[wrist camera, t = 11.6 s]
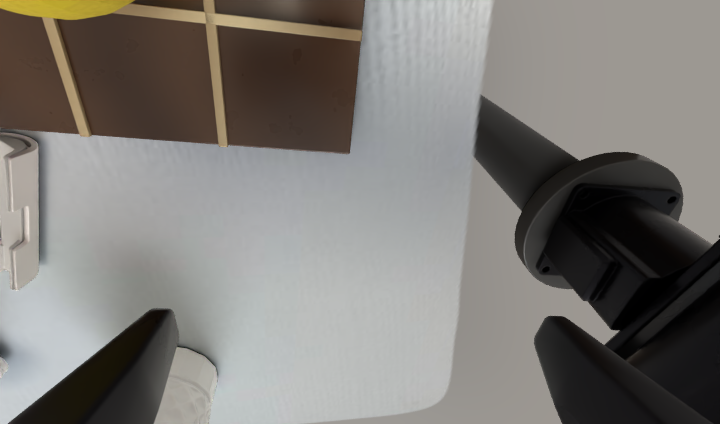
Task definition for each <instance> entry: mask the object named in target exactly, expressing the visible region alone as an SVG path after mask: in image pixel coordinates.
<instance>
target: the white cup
mask: <svg viewBox="0 0 720 424" xmlns="http://www.w3.org/2000/svg"><path fill="white" fill-rule="evenodd" d="M217 382H218V377H217V371H216V367H215V366H214V365H213V364H212V363H211V362H210V361H209V360H208V359H207V358H206V357H205V356H203V355H201V354H198V353H196V352H194V351H192V350H189V349H187V348H180V347H177V348H176V352H175V355H174V359H173V362H172V366H171V369H170V373H169V376H168V380H167V383H166V387H165V390H164V394H163V397H162V401H161V404H160V407H159V410H158V413H157V416H156V419H155V421H154V424H209V419H210V412H211V405H212V402H213V398H214V394H215V390H216V386H217Z"/></svg>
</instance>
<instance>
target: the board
mask: <svg viewBox="0 0 720 424" xmlns="http://www.w3.org/2000/svg"><path fill="white" fill-rule="evenodd" d="M364 6H365V0H135V1H133V2H131V3H130V4H128V5H126V6H124V7H122V8H120V9H119V10H117V11H115V12H113V13H110V14H107V15H102V16H96V17H90V18H84V19H78V20H65V19H56V18H46V17H36V16H28V15H23V14H19V13H15V12H11V11H7V10H4V9H2V8H0V128H5V129H18V130H31V131H45V132H58V133H72V134H80V136H84V137H90V136H92V135H98V136H112V137H125V138H139V139H152V140H165V141H179V142H192V143H206V144H219V147H228V145H232V146H246V147H259V148H273V149H286V150H299V151H313V152H326V153H340V154H349V153H350V145H351V135H352V125H353V115H354V105H355V95H356V85H357V75H358V65H359V55H360V46H361V41H362V26H363V16H364Z"/></svg>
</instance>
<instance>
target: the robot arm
mask: <svg viewBox="0 0 720 424" xmlns="http://www.w3.org/2000/svg"><path fill="white" fill-rule="evenodd" d="M583 191H584V192H583ZM581 192H583V193H582V194H581ZM680 198H681V195H680V193H678V192H676V191H675V190H672V189H662V188H648V187H633V186H619V185H605V184H591V183H580V184H578V185H576V186H575V187H574V188H573V189H572V191H571V193H570V195H569V197H568V199H567V202H566V204H565V206H564V208H563V210H562V212H561V214H560V216H559V218H558V220H557V222H556V224H555V226H554V228H553V230H552V232H551V235H550V237H549V239H548V241H547V243H546V245H545V247H544V249H543V251H542V253H541V255H540V257H539V259H538V261H537V263H536V266H535V268H536V270H537V272H538V273H539V274H540V275H549V276H563V277H564V278H565V280H566V281H567V282H568V283H569V285H570V286H571V287H572V288H573V289H574V291H575V292H576V293H577V294H578V296H580V298H581V299H582V300H583V301H588V302H589V304H590V305H591V306H592V307H593V308H594V310H595V311H596V312H597V313H598V314H599V316H600V317H601V318H602V319H603V320H604V322H605V323H606V324H607V325H608V326H609V328H610V329H611V330H620V331H619V332H618V333H617V334H616V335H615V336H613V337H612V338H611V339H610V340H609V341H608V342H607V343H606V344H605V345H603V344H602V343H600V342H599V341H598V340H596V339H595V338H593V337H592V336H591V335H589V334H588V333H587V332H585V331H584V330H582V329H581V328H579V327H578V326H577V325H575V324H574V323H573V322H571V321H570V320H568V319H567V318H565V317H562V316H548V317H546V318H545V319H544V321H543V323H542V325H541V326H540V328H539V330H538V332H537V333H536V335H535V338H534V345H535V349H536V352H537V354H538V357H539V361H540V363H541V367H542V370H543V373H544V376H545V379H546V382H547V385H548V388H549V391H550V394H551V397H552V399H553V402H554V405H555V408H556V410H557V412H558V415H559V417H560V419H561V422H562V424H720V239H719V240H718V241H717V242H716V243H715V244H713V245H712V244H711V243H709V242H708V241H706V240H705V239H703V238H702V237H700V236H699V235H697V234H696V233H694V232H692V231H691V230H689V229H688V228H686V227H685V226H683V225H682V224H680V223H679V222H677V221H676V220H674V219H673V218H671V217H670V216H669V215H670V214H671V212H672V211H673V209H674V208H675V206H676V205H677V203H678V202H679V200H680ZM719 238H720V235H719ZM178 340H179V332H178V328H177V324H176V319H175V315H174V312H173V311H172V310H171V309H164V308H154V309H151V310H149V311H148V312H147V313H145V314H144V315H143V316H142V317H140V318H139V319H138V320H137V321H135V322H134V323H133V324H132V325H130V326H129V327H128V328H127V329H125V330H124V331H123V332H122V333H120V334H119V335H118V336H117V337H115V338H114V339H113V340H112V341H110V342H109V343H108V344H107V345H105V346H104V347H103V348H102V349H100V350H99V351H98V352H97V353H95V354H94V355H93V356H92V357H90V358H89V359H88V360H87V361H85V362H84V363H83V364H82V365H80V366H79V367H78V368H77V369H75V370H74V371H73V372H72V373H70V374H69V375H68V376H67V377H65V378H64V379H63V380H62V381H60V382H59V383H58V384H57V385H55V386H54V387H53V388H52V389H50V390H49V391H48V392H47V393H45V394H44V395H43V396H42V397H40V398H39V399H38V400H37V401H35V402H34V403H33V404H32V405H30V406H29V407H28V408H27V409H25V410H24V411H23V412H22V413H20V414H19V415H18V416H17V417H15V418H14V419H13V420H12V421H10V422H9V423H8V424H154V421H155V419H156V416H157V413H158V410H159V407H160V404H161V401H162V397H163V394H164V390H165V387H166V383H167V380H168V376H169V373H170V369H171V366H172V362H173V359H174V355H175V352H176V348H177V345H178Z"/></svg>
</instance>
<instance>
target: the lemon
mask: <svg viewBox="0 0 720 424" xmlns="http://www.w3.org/2000/svg"><path fill="white" fill-rule="evenodd" d="M133 1H135V0H0V8H2V9H4V10H7V11H11V12H15V13H19V14H23V15H28V16H36V17H46V18H56V19H65V20H78V19H84V18H90V17H96V16H102V15H107V14H110V13H113V12H115V11H117V10H119V9H120V8H122V7H124V6H126V5H128V4H130V3H131V2H133Z"/></svg>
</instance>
